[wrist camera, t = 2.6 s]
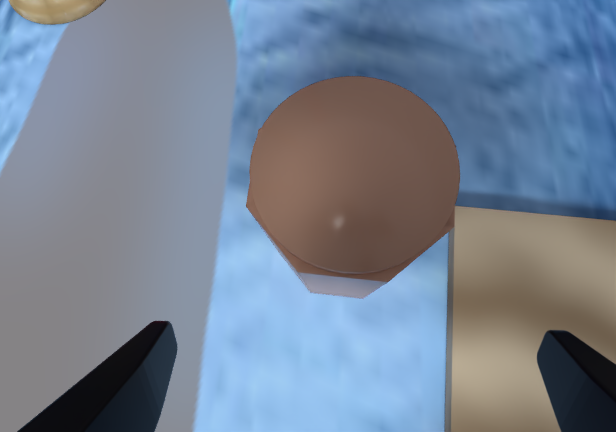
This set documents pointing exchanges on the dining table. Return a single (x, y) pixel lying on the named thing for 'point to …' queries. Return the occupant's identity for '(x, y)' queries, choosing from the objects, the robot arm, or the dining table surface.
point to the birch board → (521, 311)
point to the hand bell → (54, 10)
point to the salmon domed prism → (353, 182)
